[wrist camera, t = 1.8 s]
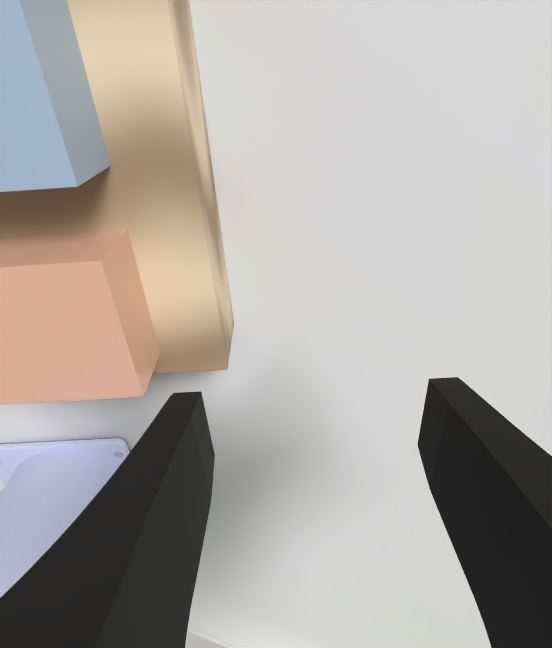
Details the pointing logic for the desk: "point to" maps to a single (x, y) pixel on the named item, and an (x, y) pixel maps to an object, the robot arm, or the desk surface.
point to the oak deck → (147, 175)
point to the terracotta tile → (73, 319)
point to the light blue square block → (45, 100)
